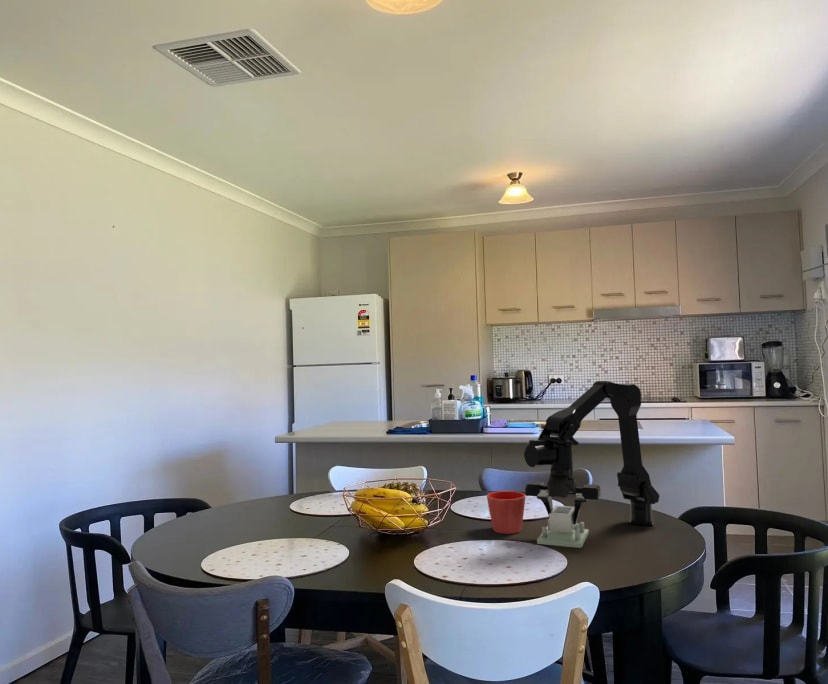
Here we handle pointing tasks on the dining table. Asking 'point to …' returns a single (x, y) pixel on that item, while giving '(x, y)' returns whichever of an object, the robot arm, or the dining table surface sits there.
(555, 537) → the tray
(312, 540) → the dining table surface
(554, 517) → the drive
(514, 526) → the flower pot
